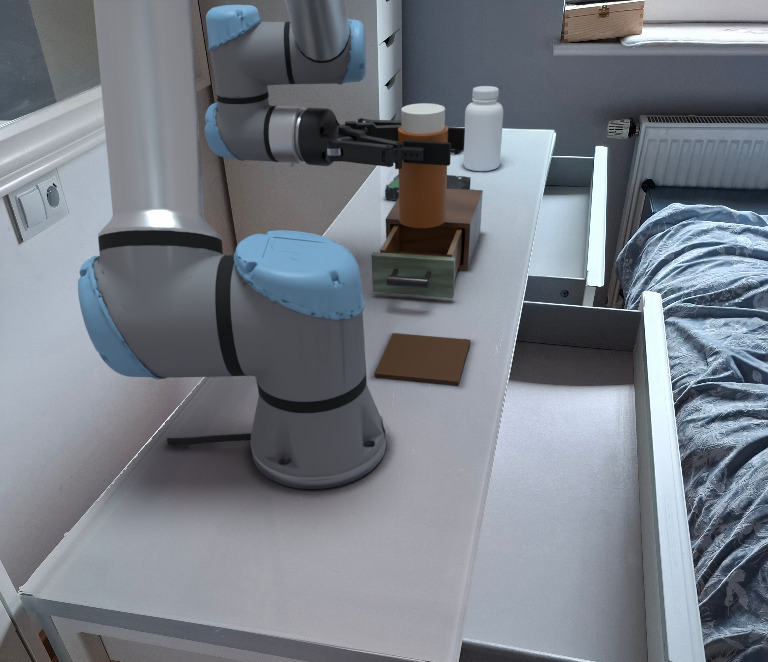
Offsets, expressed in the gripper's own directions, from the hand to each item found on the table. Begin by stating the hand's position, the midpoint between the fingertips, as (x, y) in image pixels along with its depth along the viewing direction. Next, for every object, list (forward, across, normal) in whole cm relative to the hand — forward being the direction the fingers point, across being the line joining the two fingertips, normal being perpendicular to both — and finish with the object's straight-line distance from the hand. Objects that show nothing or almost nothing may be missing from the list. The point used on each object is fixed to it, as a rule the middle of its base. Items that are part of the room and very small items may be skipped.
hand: (456, 146), depth 100 cm
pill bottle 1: (-5, 0, -10) cm, 12 cm away
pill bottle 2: (-9, -59, -20) cm, 63 cm away
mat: (+2, +24, -20) cm, 31 cm away
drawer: (-5, +2, -19) cm, 20 cm away
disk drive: (-15, -38, -20) cm, 46 cm away
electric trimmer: (-16, -74, -20) cm, 78 cm away
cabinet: (-6, -13, -20) cm, 24 cm away
